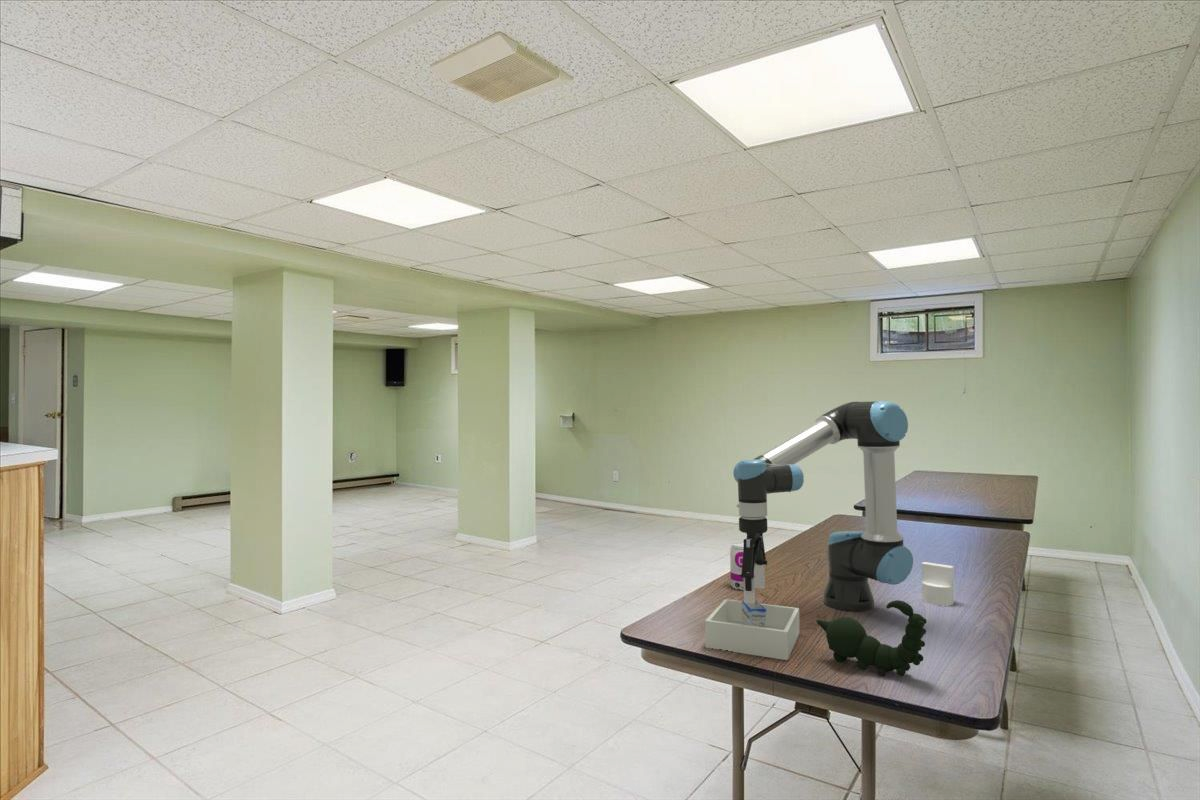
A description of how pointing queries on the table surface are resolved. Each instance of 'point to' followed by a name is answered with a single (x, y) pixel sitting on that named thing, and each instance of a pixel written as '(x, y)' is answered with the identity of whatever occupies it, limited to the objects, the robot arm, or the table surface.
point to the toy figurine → (876, 642)
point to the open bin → (753, 631)
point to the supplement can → (736, 565)
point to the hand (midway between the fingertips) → (754, 595)
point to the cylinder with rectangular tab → (937, 584)
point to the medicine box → (753, 614)
